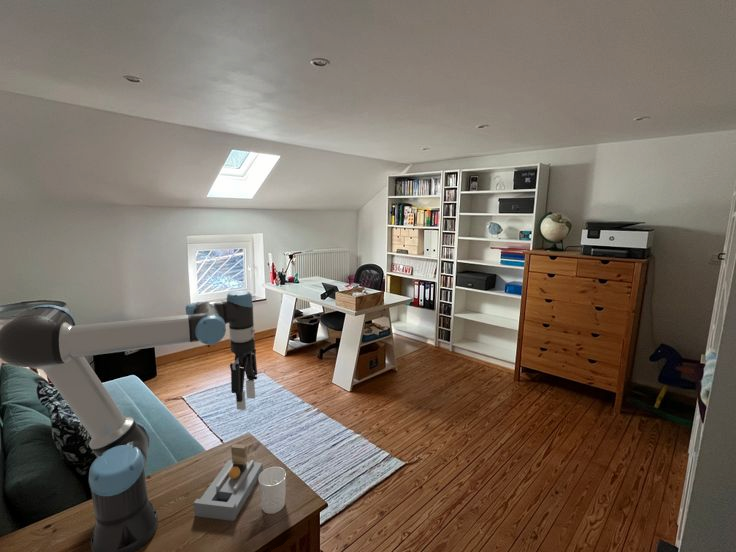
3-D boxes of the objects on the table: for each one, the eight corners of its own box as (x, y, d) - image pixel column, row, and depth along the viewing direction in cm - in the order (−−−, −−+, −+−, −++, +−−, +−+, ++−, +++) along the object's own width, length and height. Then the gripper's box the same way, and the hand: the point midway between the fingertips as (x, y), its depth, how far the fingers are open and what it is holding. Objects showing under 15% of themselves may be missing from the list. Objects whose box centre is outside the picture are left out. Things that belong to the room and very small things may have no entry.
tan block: (235, 466, 120) (233, 443, 118) (247, 467, 119) (246, 445, 118) (232, 470, 118) (230, 447, 116) (244, 472, 117) (243, 449, 116)
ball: (226, 481, 114) (226, 471, 113) (232, 473, 117) (231, 463, 116) (237, 482, 113) (236, 472, 113) (242, 474, 117) (241, 464, 116)
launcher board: (229, 467, 124) (228, 455, 123) (262, 470, 122) (262, 459, 122) (194, 516, 104) (193, 502, 104) (234, 520, 103) (233, 507, 102)
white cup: (280, 518, 104) (278, 487, 102) (255, 513, 106) (253, 483, 104) (291, 496, 112) (290, 468, 110) (267, 492, 113) (266, 464, 111)
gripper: (239, 350, 107) (243, 420, 112) (265, 329, 126) (268, 389, 131) (215, 349, 108) (220, 418, 113) (245, 328, 127) (248, 388, 132)
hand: (246, 403), depth 122 cm, fingers open, 6 cm apart
